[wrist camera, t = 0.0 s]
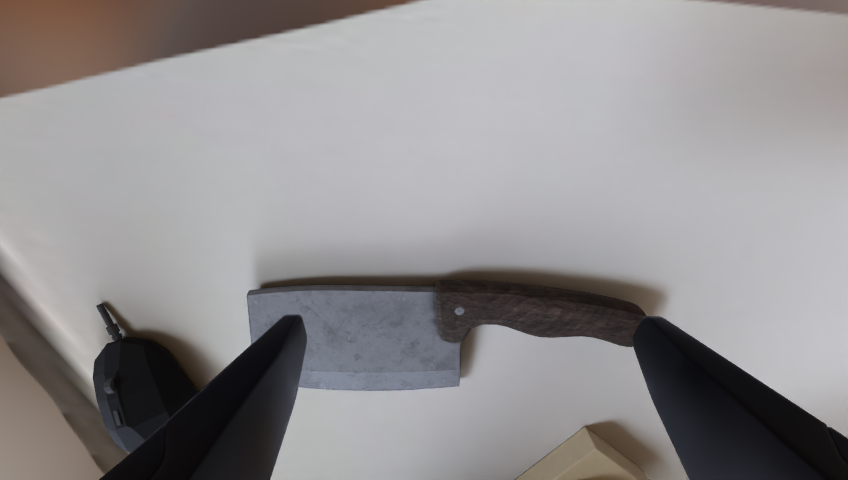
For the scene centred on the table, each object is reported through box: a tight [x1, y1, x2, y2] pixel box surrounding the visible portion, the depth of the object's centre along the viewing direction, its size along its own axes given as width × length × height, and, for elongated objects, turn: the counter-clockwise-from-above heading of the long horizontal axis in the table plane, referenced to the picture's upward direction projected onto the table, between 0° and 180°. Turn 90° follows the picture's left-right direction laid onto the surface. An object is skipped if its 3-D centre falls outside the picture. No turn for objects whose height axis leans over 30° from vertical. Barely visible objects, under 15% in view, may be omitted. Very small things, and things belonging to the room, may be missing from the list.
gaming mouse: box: [93, 304, 198, 453], centre depth 27 cm, size 6×15×4 cm, turn 17°
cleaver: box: [247, 280, 646, 391], centre depth 27 cm, size 29×10×2 cm, turn 92°
